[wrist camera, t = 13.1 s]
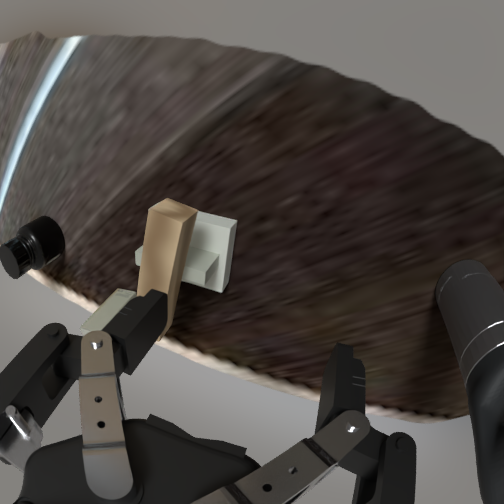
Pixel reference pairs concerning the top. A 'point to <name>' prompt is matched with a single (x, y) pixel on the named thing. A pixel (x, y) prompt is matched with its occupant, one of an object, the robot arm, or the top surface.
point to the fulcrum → (208, 252)
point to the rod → (166, 251)
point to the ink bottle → (32, 247)
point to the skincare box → (107, 310)
